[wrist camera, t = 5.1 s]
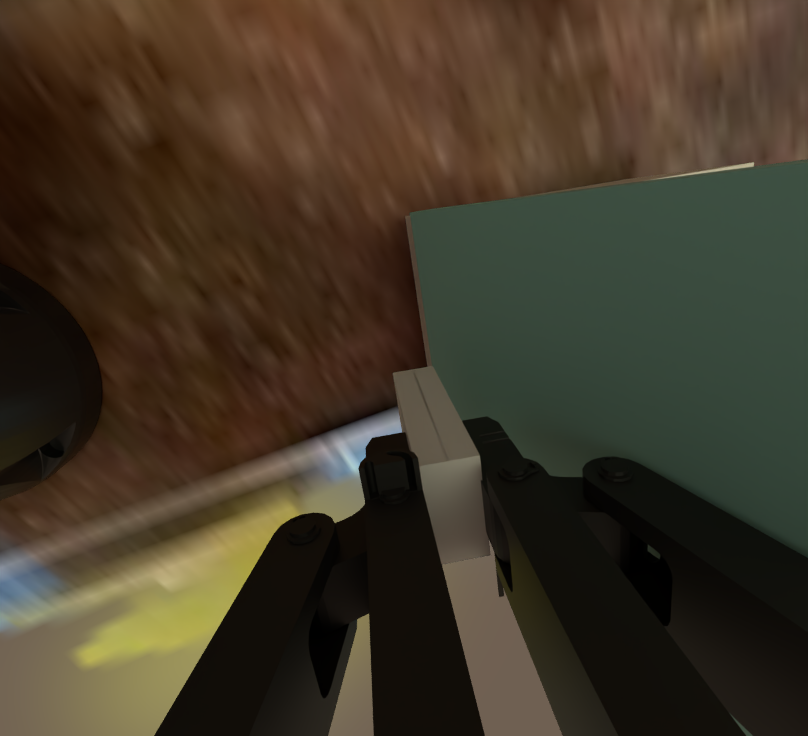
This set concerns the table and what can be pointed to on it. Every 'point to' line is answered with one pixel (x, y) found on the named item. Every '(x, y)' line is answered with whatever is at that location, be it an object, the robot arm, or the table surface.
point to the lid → (637, 331)
